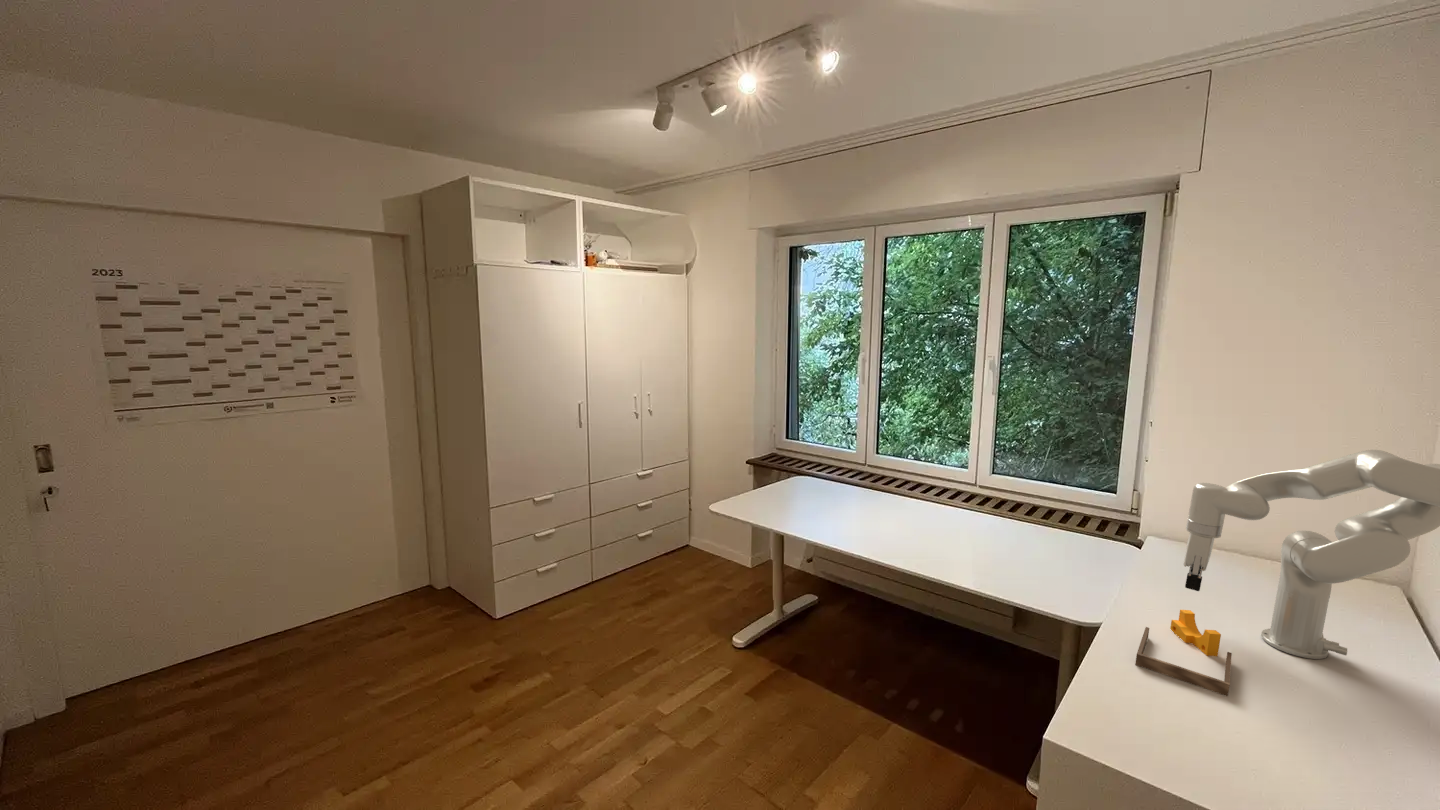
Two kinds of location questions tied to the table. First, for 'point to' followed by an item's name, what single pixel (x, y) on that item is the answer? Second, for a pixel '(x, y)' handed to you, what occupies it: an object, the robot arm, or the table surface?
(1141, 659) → the walnut bay
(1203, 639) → the pipe clamp
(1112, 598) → the table surface
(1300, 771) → the table surface
